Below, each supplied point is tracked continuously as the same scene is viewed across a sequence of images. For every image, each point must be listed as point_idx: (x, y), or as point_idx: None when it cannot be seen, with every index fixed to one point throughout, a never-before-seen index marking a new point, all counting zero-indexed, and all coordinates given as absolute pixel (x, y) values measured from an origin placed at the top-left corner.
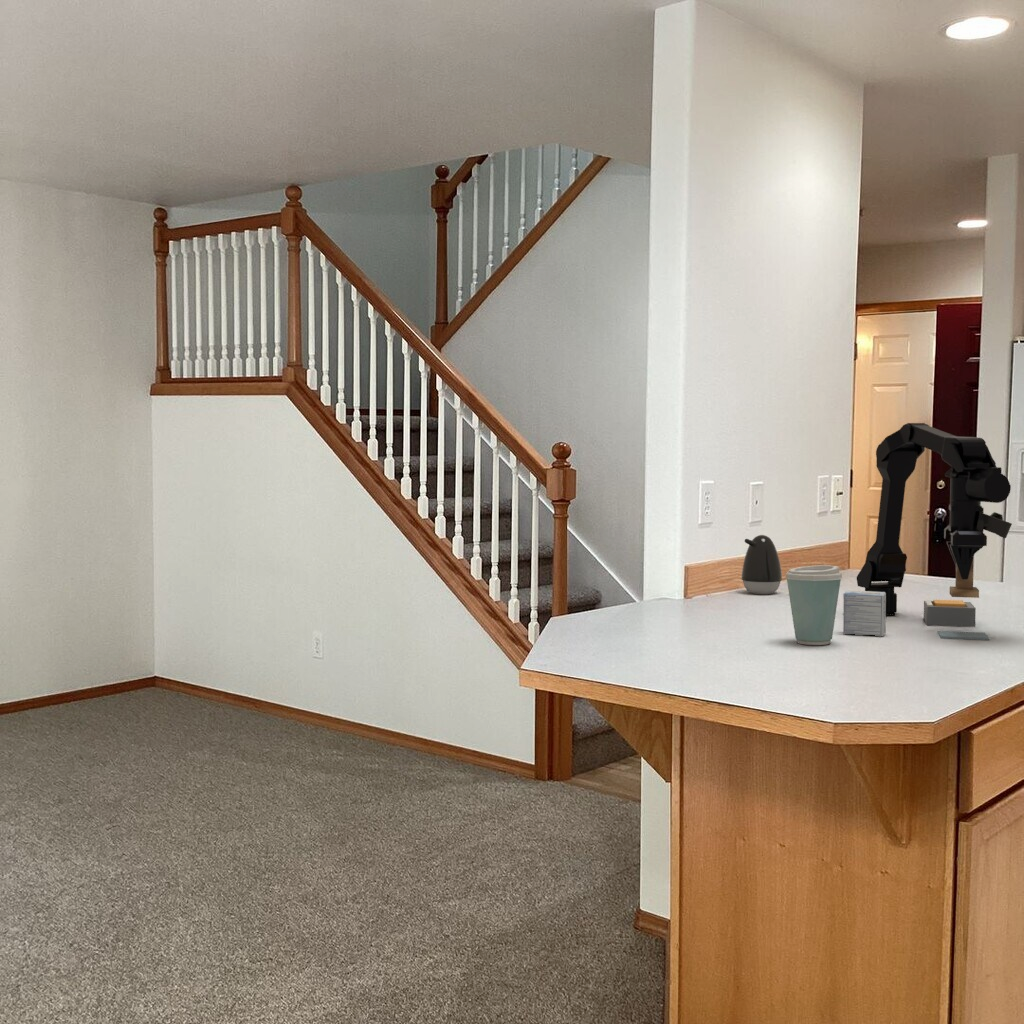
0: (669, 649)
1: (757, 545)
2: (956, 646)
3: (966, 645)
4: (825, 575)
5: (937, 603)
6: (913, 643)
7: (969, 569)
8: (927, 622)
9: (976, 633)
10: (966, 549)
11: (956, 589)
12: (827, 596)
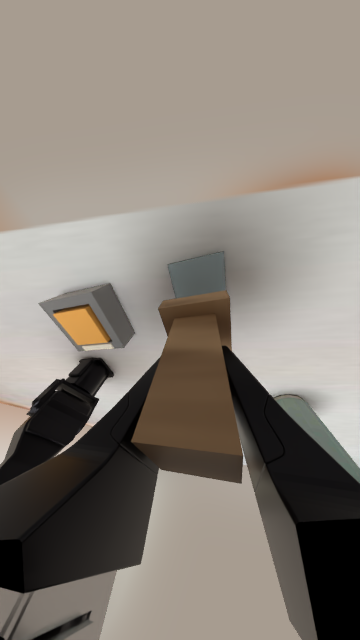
0: None
1: (50, 458)
2: (298, 293)
3: (286, 280)
4: None
5: (106, 340)
6: (276, 339)
7: (247, 370)
8: (133, 334)
9: (183, 275)
10: (327, 566)
11: (230, 346)
12: (355, 465)
